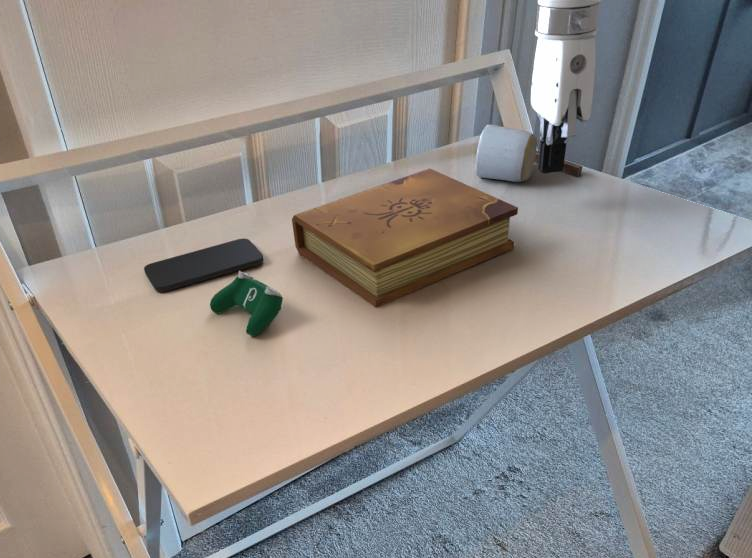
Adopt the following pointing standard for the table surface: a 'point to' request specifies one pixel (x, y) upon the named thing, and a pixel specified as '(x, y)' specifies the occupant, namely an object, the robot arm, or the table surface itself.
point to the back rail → (567, 167)
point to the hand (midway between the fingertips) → (550, 170)
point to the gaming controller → (249, 301)
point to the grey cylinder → (505, 153)
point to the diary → (403, 234)
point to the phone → (202, 264)
